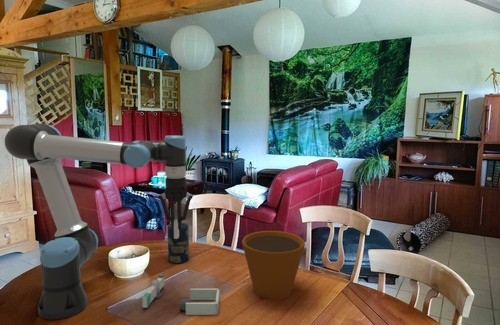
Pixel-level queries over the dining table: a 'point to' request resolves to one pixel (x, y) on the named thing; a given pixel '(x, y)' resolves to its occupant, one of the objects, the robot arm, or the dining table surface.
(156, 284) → the teal-tipped knobbed bar
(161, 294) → the pivot base
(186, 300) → the ball
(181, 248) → the canister
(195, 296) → the box
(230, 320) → the dining table surface
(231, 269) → the dining table surface
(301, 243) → the flower pot
